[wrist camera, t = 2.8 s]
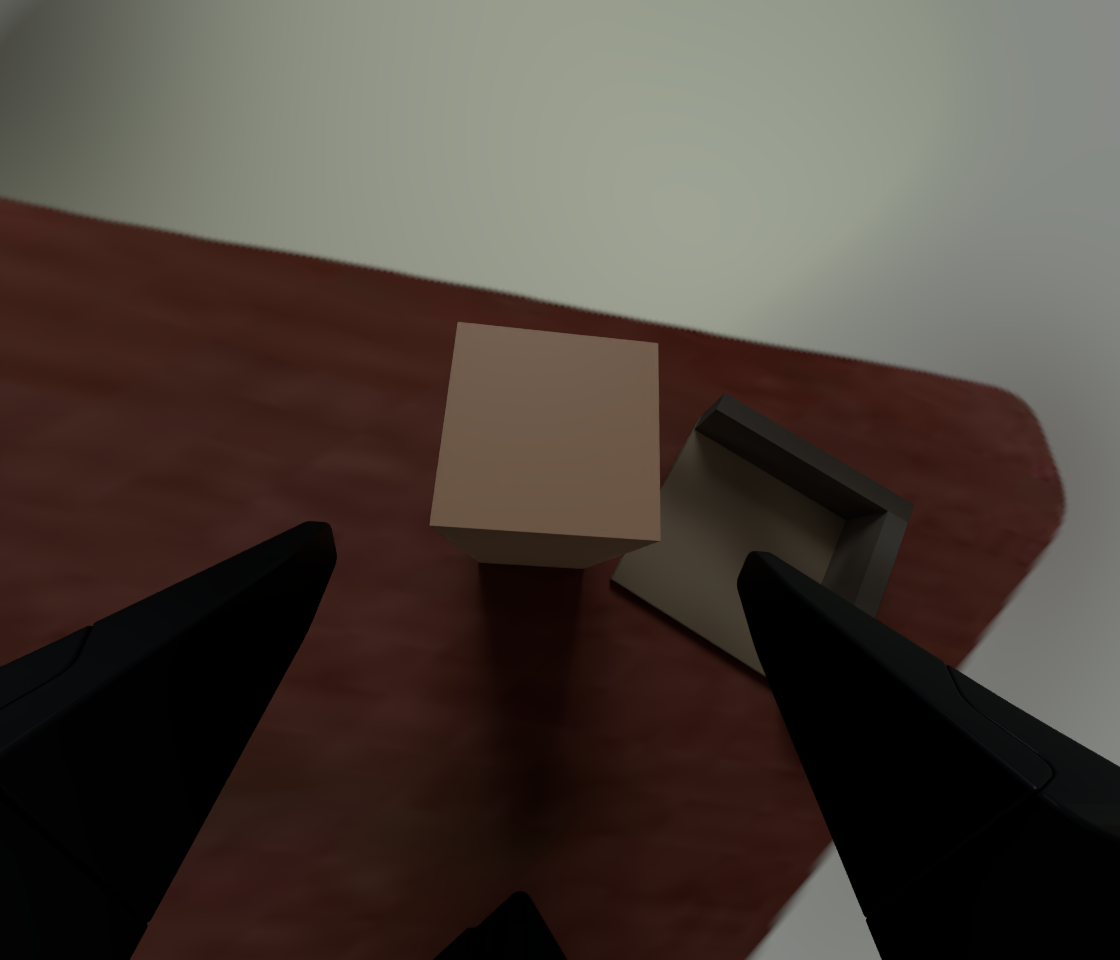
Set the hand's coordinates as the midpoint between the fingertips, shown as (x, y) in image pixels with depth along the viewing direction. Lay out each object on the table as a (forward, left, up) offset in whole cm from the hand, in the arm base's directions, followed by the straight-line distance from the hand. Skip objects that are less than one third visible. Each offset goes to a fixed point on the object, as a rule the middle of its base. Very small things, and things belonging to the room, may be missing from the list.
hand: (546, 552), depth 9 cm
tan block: (+2, -2, -11) cm, 11 cm away
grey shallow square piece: (-5, -9, -11) cm, 15 cm away
